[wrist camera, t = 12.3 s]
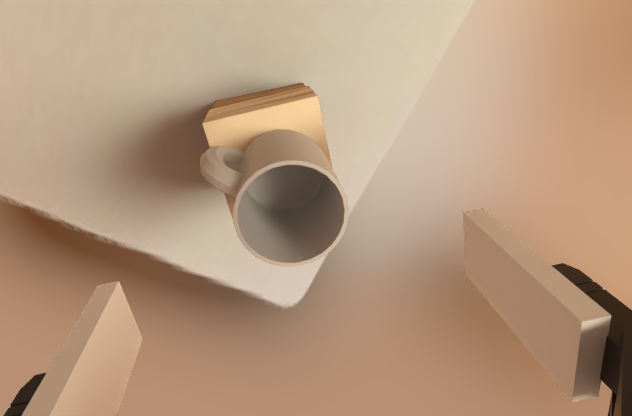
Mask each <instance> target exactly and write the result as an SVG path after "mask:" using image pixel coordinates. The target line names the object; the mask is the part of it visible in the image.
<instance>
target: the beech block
mask: <svg viewBox="0 0 632 416" xmlns="http://www.w3.org/2000/svg"><path fill="white" fill-rule="evenodd" d="M202 125H203V128H204V131H205V134H206V137H207V140H208V143H209V146H210V147H212V146H225V147H232V148H235V149H238V150H241V151H243V152H245V150H246V149H247V147H248V146H249V145H250V144H251V143H252V142H253V141H254V140H255V139H256V138H258V137H260V136H261V135H263V134H265V133H267V132H271V131H275V130H293V131H296V132H300V133H303V134H304V135H306V136H307V137H309V138H311V139H312V140H313V141H314V142H315V143H316V144H317V145H318V146H319V147H320V148H321V149H322V151H323V153H324V155H325V157H326V158H327V160H328V162H329V164H330V166H331V168H332V164H331V159H330V154H329V150H328V145H327V140H326V135H325V130H324V125H323V121H322V116H321V111H320V106H319V101H318V96H317V95H316V94H315V93H314V91H313V90H312V89H311V88H310V87H309V86H306V87H302V88H298V89H294V90H289V91H285V92H281V93H277V94H273V95H268V96H264V97H260V98H256V99H252V100H247V101H243V102H239V103H235V104H231V105H226V106H222V107H218V108H214V109H210V110H209V112H208V113H207V115H206V117H205V119H204V121H203V123H202ZM332 170H333V169H332ZM225 196H226V199H227V202H228V205H229V209H230V212H231V215H232V218H233V208H234V202H235V197H233V196H231V195H228V194H226V193H225ZM233 221H234V219H233Z"/></svg>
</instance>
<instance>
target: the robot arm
mask: <svg viewBox="0 0 632 416" xmlns="http://www.w3.org/2000/svg"><path fill="white" fill-rule="evenodd" d="M463 217H464V218H463V224H464V225H463V227H464V273H465V274H466V275H467V276H468V278H469V279H470V280H471V281H472V283H473V284H474V285H475V286H476V287H477V289H478V290H479V291H480V292H481V293H482V295H483V296H484V297H485V298H486V299H487V301H488V302H489V303H490V304H491V305H492V307H493V308H494V309H495V310H496V311H497V313H498V314H499V315H500V316H501V317H502V319H503V320H504V321H505V322H506V324H508V326H509V327H510V328H511V329H512V331H513V332H514V333H515V334H516V335H517V337H518V338H519V339H520V340H521V342H522V343H523V344H524V345H525V346H526V348H527V349H528V350H529V351H530V353H531V354H532V355H533V356H534V357H535V358H536V360H537V361H538V362H539V363H540V365H541V366H542V367H543V368H544V369H545V371H546V372H547V373H548V374H549V376H550V377H551V378H552V379H553V380H554V382H555V383H556V384H557V385H558V386H559V387H560V389H561V390H562V391H563V392H564V393H565V395H566V396H567V397H568V398H569V400H570V401H571V402H576V401H580V400H584V399H588V398H593V397H598V396H599V390H600V383H601V380H602V381H603V382H604V383H605V384H606V385H607V386H608V387H609V388H610V389H611V390H612V396H611V401H610V408H609V413H608V416H632V310H631V309H629V308H628V307H627V306H625V305H624V304H623V303H622V302H620V301H619V300H618V299H616V298H615V297H614V296H612V295H611V294H610V293H609V292H607V291H606V290H603V288H602V287H601V286H600V285H598V284H597V283H595V282H593V281H592V279H590V278H589V277H588V276H586V275H585V274H584V273H582V272H581V271H580V270H578V269H575V268H573V267H571V266H568V265H566V264H563V263H562V264H557V265H553V266H551V265H550V264H549V263H548V262H546V261H545V260H544V259H543V258H542V257H540V256H539V255H538V254H537V253H536V252H534V251H533V250H532V249H531V248H530V247H528V246H527V245H526V244H525V243H524V242H522V241H521V240H520V239H519V238H517V237H516V236H515V235H514V234H513V233H511V232H510V231H509V230H508V229H507V228H506V227H504V226H503V225H502V224H501V223H500V222H498V221H497V220H496V219H495V218H493V217H492V216H491V215H490V214H489V213H487V212H486V211H485V210H484V209H483V208H482V209H477V210H472V211H467V212H463ZM142 340H143V339H142V336H141V334H140V332H139V329H138V327H137V324H136V322H135V319H134V317H133V314H132V312H131V309H130V307H129V305H128V302H127V300H126V297H125V295H124V292H123V290H122V288H121V285H120V283H119V281H117V282H112V283H107V284H102V285H98V286H97V288H96V289H95V291H94V293H93V294H92V296H91V298H90V300H89V301H88V303H87V305H86V306H85V308H84V310H83V311H82V313H81V315H80V317H79V318H78V320H77V322H76V323H75V325H74V327H73V329H72V331H71V332H70V334H69V335H68V337H67V339H66V341H65V342H64V344H63V346H62V347H61V349H60V351H59V352H58V354H57V356H56V358H55V359H54V361H53V363H52V364H51V366H50V368H49V370H48V371H47V373H43V374H39V375H35V376H34V377H33V378H32V379H31V380H30V381H29V382H28V383H27V384H26V385H25V386H24V387H23V388H21V389H20V391H19V393H18V394H17V395H16V397H15V399H14V400H13V402H12V403H11V407H10V408H8V410H7V412H6V413H5V415H4V416H116V415H117V412H118V409H119V406H120V403H121V400H122V397H123V395H124V392H125V389H126V386H127V383H128V380H129V377H130V374H131V372H132V369H133V366H134V363H135V360H136V357H137V354H138V351H139V348H140V345H141V343H142Z"/></svg>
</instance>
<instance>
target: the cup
mask: <svg viewBox="0 0 632 416" xmlns="http://www.w3.org/2000/svg"><path fill="white" fill-rule="evenodd" d="M200 170H201V174H202V176H203V177H204V178H205V180H206V181H207V182H209V183H210V184H211V185H212V186H214V187H215V188H217V189H218V190H220V191H222V192H224V193H226V194H228V195H231V196H233V197H235V202H234V208H233V219H234V226H235V229H236V232H237V235H238V237H239V239H240V240H241V242H242V243H243V245H244V246H245V248H246V249H247V250H248V251H250V252H251V253H252V254H253V255H254V256H255V257H257V258H259V259H261V260H263V261H265V262H267V263H269V264H274V265H279V266H300V265H304V264H308V263H312V262H313V261H315V260H317V259H319V258H321V257H323V256H325V255H326V254H327V253H328V252H329V251H331V250H332V249H333V248H334V247H335V246H336V244H337V243H338V242H339V240H340V239H341V237H342V236H343V234H344V231H345V228H346V226H347V223H348V213H349V207H348V202H347V197H346V194H345V192H344V190H343V188H342V187H341V185H340V183H339V181H338V179H337V177H336V175H335V173H334V171H333V170H332V168H331V166H330V164H329V162H328V160H327V158H326V157H325V155H324V153H323V151H322V149H321V148H320V147H319V146H318V145H317V144H316V143H315V142H314V141H313V140H312V139H311V138H309V137H307V136H306V135H304V134H303V133H300V132H296V131H293V130H275V131H271V132H267V133H265V134H263V135H261V136H260V137H258V138H256V139H255V140H254V141H253V142H252V143H251V144H250V145H249V146H248V147H247V149H246V150H245V152H243V151H241V150H238V149H235V148H232V147H225V146H212V147H210V148H209V149H207V150H206V151H205V152H204V153H203V154H202V155H201V158H200Z"/></svg>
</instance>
